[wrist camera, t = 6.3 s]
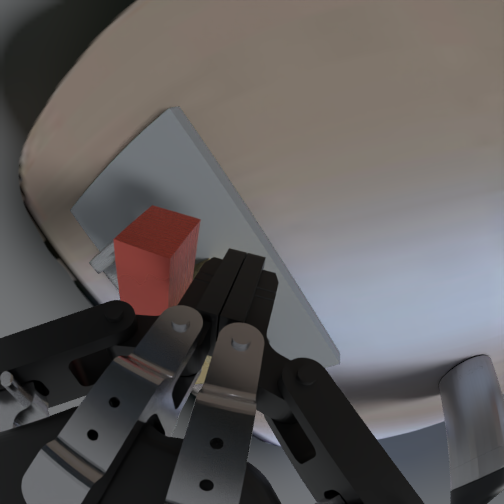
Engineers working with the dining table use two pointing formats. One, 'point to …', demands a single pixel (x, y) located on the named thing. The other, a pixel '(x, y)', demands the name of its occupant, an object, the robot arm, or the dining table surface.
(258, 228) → the slate board
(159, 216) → the lever
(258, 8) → the dining table surface
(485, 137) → the dining table surface
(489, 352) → the dining table surface
